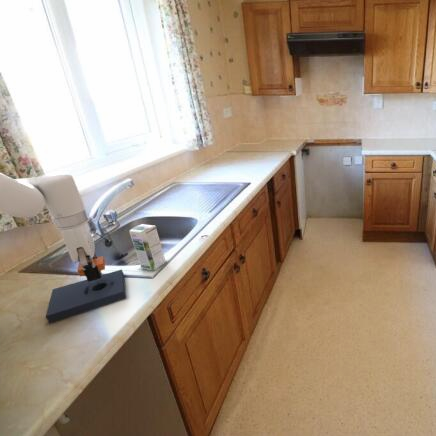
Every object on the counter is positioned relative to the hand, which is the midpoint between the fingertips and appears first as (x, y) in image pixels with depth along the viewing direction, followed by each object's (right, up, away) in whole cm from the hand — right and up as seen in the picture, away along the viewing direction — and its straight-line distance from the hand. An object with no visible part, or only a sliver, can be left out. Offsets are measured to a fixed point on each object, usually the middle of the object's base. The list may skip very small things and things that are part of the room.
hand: (95, 274), depth 94 cm
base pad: (-2, -7, +1) cm, 8 cm away
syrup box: (+9, 0, +16) cm, 18 cm away
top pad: (0, -1, 0) cm, 1 cm away
